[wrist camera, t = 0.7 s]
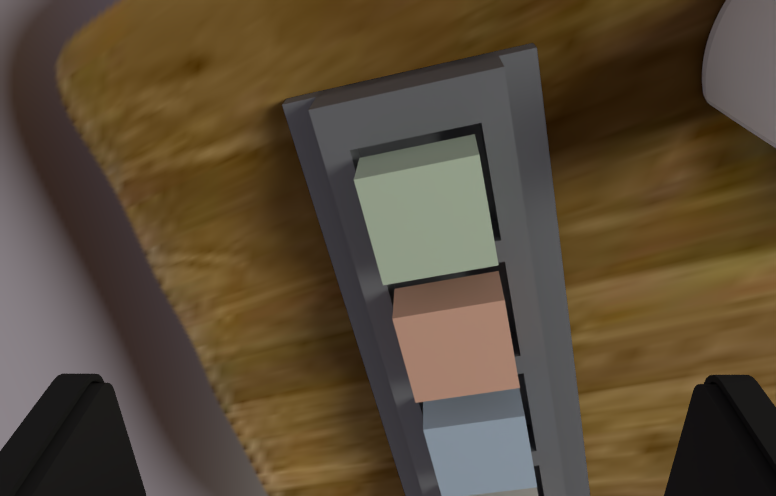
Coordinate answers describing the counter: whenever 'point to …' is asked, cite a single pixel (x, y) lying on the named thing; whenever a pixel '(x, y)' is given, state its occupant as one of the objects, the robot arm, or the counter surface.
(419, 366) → the key
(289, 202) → the counter surface
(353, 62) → the counter surface
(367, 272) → the keypad housing
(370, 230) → the key
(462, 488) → the key
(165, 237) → the counter surface
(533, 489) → the key
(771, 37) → the eye dropper bottle
